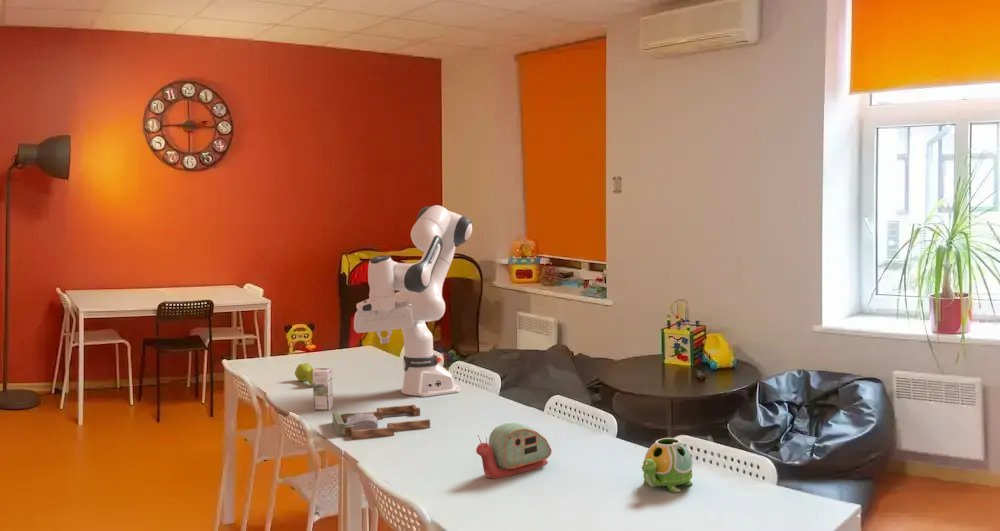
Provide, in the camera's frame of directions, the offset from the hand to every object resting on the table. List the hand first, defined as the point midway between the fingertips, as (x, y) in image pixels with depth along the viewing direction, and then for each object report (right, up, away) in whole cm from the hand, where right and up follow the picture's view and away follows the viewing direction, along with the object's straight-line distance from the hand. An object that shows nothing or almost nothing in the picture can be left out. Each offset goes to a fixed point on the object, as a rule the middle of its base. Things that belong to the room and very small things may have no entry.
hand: (384, 343), depth 310 cm
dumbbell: (-37, -21, +55) cm, 69 cm away
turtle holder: (+84, -32, -72) cm, 115 cm away
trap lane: (0, -27, -9) cm, 28 cm away
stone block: (-7, -28, -10) cm, 30 cm away
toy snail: (+43, -31, -58) cm, 79 cm away
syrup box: (-24, -25, +14) cm, 38 cm away
